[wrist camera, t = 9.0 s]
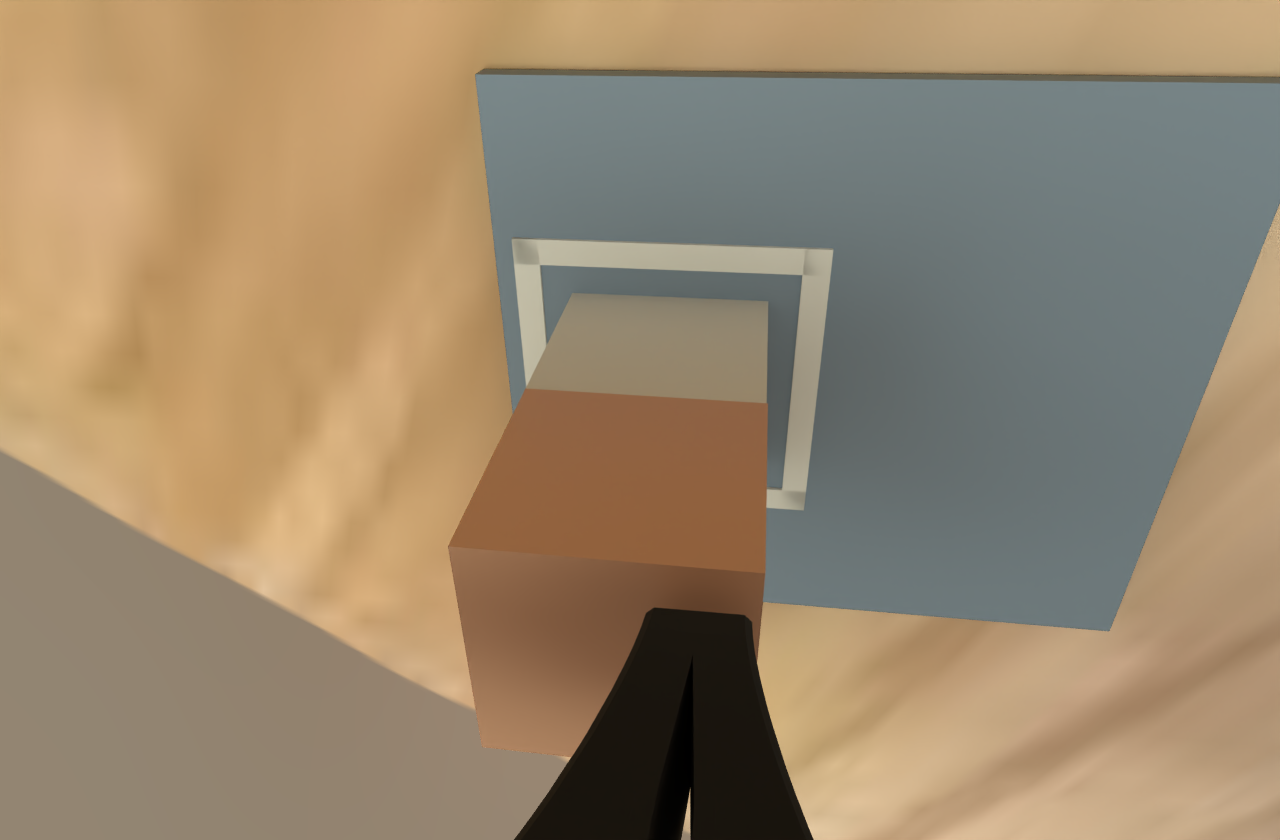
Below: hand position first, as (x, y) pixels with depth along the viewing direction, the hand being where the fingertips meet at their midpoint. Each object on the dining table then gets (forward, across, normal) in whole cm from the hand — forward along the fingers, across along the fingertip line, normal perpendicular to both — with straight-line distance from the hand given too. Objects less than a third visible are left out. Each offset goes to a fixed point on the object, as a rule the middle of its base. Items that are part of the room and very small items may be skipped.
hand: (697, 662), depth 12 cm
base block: (+10, +1, +1) cm, 10 cm away
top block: (+5, +1, +1) cm, 6 cm away
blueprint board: (+10, -2, +1) cm, 11 cm away
